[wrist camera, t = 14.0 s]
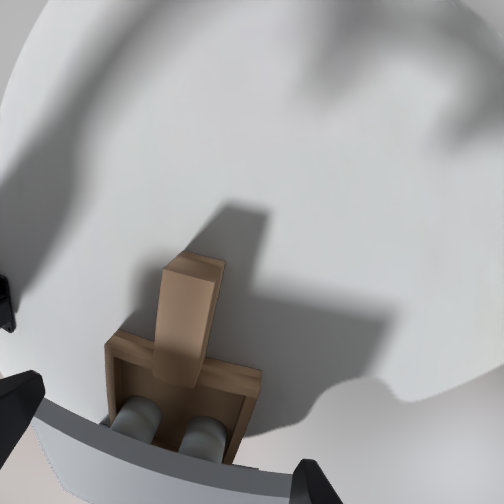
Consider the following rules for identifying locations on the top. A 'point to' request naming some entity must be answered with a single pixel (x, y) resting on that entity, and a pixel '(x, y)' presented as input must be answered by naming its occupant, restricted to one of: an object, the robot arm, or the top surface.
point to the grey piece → (143, 467)
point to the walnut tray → (181, 372)
